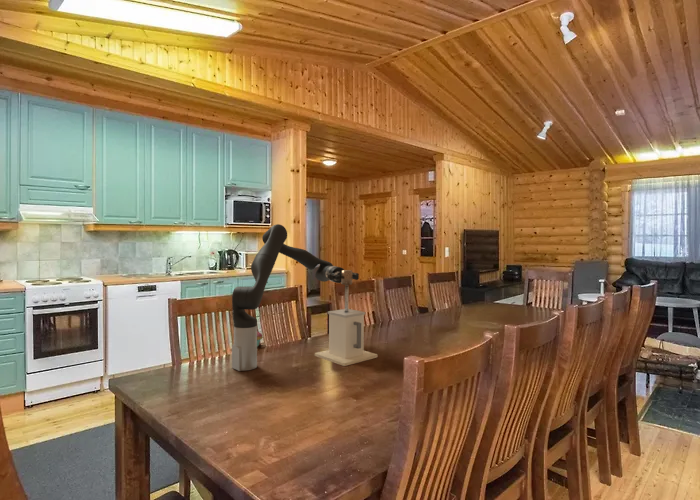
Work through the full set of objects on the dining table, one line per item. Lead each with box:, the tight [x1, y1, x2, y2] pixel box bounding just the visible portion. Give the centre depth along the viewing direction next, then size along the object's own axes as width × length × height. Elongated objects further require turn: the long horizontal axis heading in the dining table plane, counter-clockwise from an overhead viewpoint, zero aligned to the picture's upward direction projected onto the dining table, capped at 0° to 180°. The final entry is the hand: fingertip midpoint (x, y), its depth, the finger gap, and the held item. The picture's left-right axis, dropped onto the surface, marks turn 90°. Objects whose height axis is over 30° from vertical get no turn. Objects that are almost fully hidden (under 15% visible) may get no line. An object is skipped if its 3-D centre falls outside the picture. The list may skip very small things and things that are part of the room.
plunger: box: [340, 269, 353, 313], centre depth 197 cm, size 9×9×24 cm
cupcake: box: [257, 330, 263, 347], centre depth 215 cm, size 9×8×12 cm
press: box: [314, 308, 378, 367], centre depth 198 cm, size 20×20×20 cm
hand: (348, 277), depth 195 cm, fingers open, 8 cm apart
